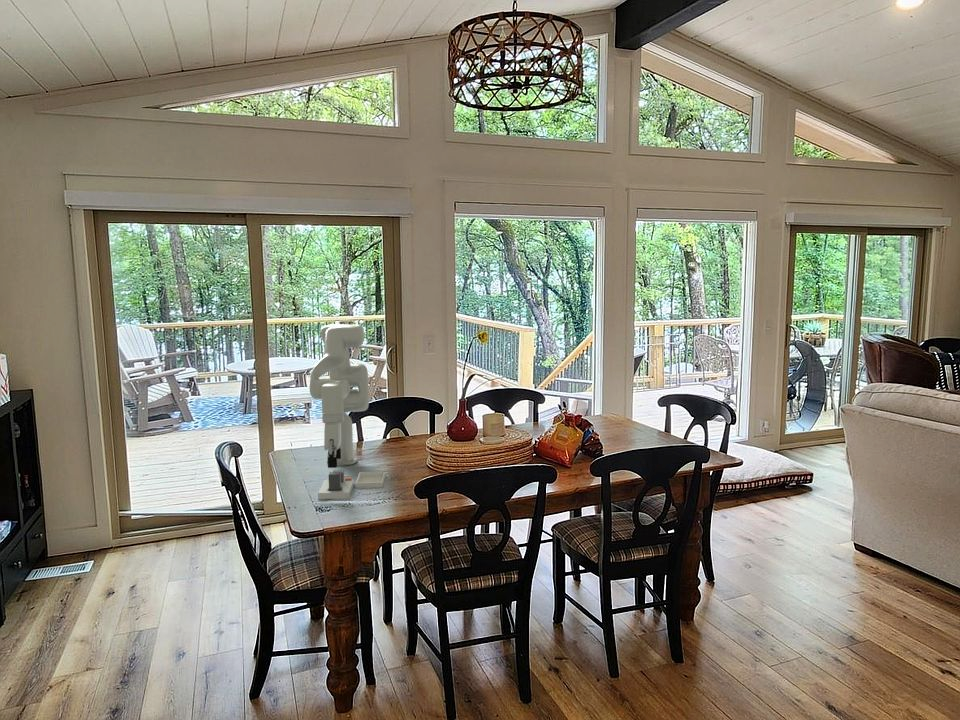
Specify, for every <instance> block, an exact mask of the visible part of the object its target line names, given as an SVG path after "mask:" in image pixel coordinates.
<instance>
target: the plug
mask: <svg viewBox="0 0 960 720" xmlns="http://www.w3.org/2000/svg"><path fill="white" fill-rule="evenodd" d="M328 479H329V491H341V472H333V471H330V472H329V473H328Z"/></svg>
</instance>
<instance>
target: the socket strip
mask: <svg viewBox="0 0 960 720" xmlns="http://www.w3.org/2000/svg"><path fill="white" fill-rule="evenodd" d="M332 472H341V491H329V478H327V479H324V480H323V483H322V484H321V487H320V489H319V490H318V493H317V498H318V500H332V499H333V500H335V499H336V500H337V499H338V500H341V499H342V500H344V499H345V500H346V499H350V497H351V495H352V492H353V489H354V486H355V478H353V477H345V470H344V469H341V470H339V469H337V470H336V469H335V470H332ZM346 501H348V500H346Z"/></svg>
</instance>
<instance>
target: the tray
mask: <svg viewBox="0 0 960 720" xmlns="http://www.w3.org/2000/svg"><path fill="white" fill-rule="evenodd" d="M356 477H357V478H356V480H355V482H354V486H355V489H357V488H358V489H359V488H365V489H366V488H383V486H384V483H385V478H386V471H359V472H358V475H357V476H356Z"/></svg>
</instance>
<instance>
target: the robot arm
mask: <svg viewBox="0 0 960 720" xmlns="http://www.w3.org/2000/svg"><path fill="white" fill-rule="evenodd" d="M320 336H321V340H322V343H323V344H324V349H323V357H322V358H321V359H319V360H318V362H317V363H316V364H315V365H314V366H313V368H312V370H311V373H310V381H309V393H310V394H309V395H310V397H311V398H312V399H314V400H321V415H322V416H321V418H322V421H321V423H323V424H324V432H323V433H324V439H323V441H324V442H323V445H324V446H323V447H324V448H323V449H324V451H327V459H326V463H327V468H328V469H330V468H331V469H335V468H338V467H345V466H346V467H347V466H351V465H354V464H355V463H357V461H358V457H356V456H354V441H353V440H354V438H353V435H354V434H353V421H352V418H351V417H350V416H349V414H348V413H351V412H354V413H355V412H357V413H358V412H365V411H367V410H368V409H369V404H370V400H369V399H370V396H369V395H370V394H369V392H370V391H369V373H368V368H367V367H366V365H365V364H363V363H351V361H350V360H351V359H350V352H349V349H348V348H360V347H362V346H363V344H364V340H365V331H364V327H363V326H362V325H361V324H339V323H337V324H327V325H323V326H322V327H321V328H320ZM328 372H329V373H328ZM326 373H328V374H329V378H321V377H322V376H323V375H325V374H326ZM351 387H356V388H355V389H354V388H351Z"/></svg>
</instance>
